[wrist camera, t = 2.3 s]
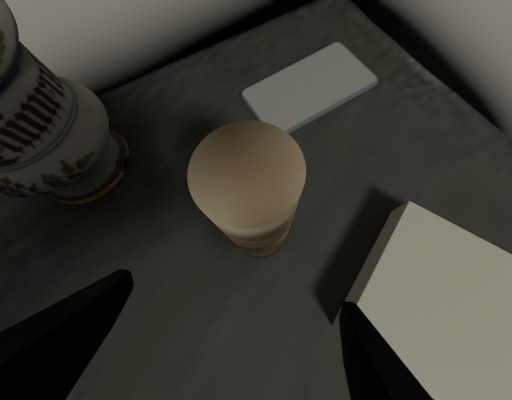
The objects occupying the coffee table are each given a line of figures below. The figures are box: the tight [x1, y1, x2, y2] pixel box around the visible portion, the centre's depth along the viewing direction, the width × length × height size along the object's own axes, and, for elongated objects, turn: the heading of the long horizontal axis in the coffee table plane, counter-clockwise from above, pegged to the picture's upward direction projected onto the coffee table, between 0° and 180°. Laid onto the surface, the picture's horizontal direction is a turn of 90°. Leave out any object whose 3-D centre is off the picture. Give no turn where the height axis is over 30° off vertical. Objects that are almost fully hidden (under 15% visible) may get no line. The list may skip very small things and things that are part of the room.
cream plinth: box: [332, 201, 512, 400], centre depth 18 cm, size 12×12×3 cm
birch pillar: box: [187, 120, 306, 258], centre depth 16 cm, size 5×5×13 cm
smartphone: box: [241, 42, 378, 133], centre depth 28 cm, size 8×1×15 cm
